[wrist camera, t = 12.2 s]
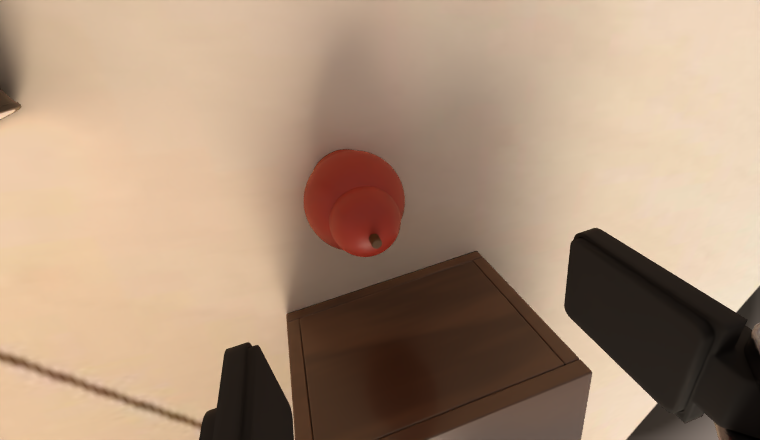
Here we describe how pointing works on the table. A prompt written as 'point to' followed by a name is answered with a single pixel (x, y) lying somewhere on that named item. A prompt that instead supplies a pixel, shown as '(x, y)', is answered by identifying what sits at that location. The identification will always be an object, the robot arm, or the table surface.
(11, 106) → the laminator
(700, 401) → the robot arm
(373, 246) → the pear
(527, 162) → the table surface
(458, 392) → the cabinet
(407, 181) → the table surface
